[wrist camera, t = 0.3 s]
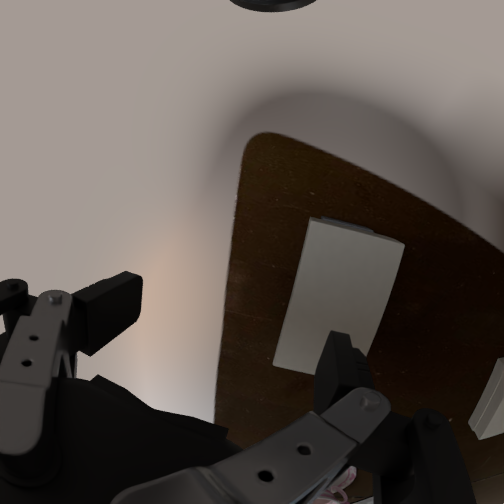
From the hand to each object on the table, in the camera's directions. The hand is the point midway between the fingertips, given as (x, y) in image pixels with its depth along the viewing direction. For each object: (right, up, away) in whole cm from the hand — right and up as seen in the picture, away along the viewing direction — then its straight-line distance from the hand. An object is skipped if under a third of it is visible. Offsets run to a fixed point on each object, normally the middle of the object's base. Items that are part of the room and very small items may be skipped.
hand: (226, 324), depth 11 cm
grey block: (+32, -14, +11) cm, 36 cm away
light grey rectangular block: (+7, 0, +8) cm, 11 cm away
